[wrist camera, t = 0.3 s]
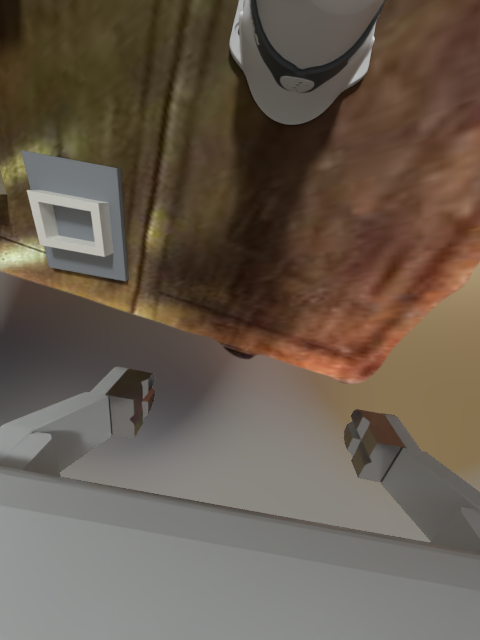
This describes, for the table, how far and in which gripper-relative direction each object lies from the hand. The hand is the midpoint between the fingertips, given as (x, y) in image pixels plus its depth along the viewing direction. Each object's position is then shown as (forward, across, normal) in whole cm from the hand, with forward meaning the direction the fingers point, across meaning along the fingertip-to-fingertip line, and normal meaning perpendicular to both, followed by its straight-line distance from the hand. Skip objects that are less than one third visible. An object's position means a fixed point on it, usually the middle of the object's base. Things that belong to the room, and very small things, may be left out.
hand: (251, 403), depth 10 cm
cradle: (+39, +34, -1) cm, 52 cm away
